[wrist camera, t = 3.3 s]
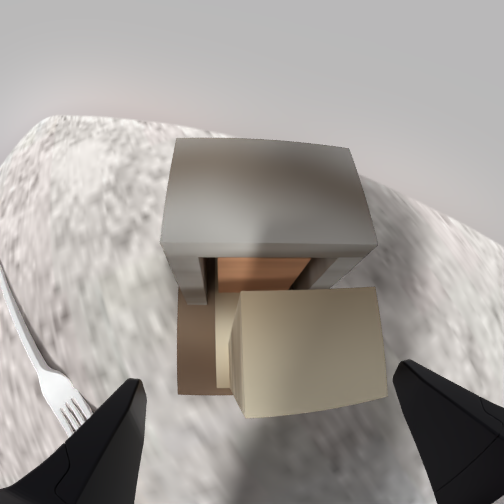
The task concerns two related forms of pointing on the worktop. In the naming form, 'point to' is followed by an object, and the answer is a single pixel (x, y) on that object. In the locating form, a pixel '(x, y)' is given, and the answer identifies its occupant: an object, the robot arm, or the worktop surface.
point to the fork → (47, 371)
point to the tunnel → (255, 227)
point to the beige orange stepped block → (294, 340)
